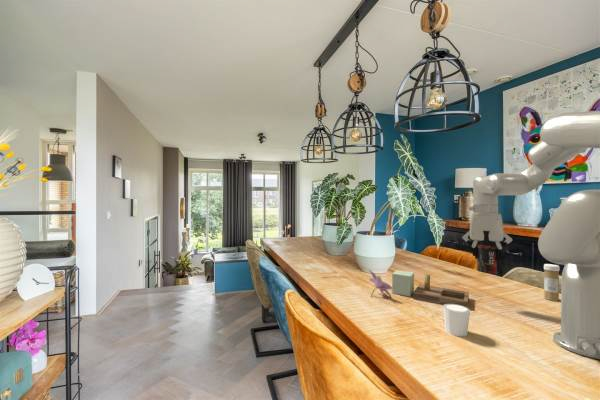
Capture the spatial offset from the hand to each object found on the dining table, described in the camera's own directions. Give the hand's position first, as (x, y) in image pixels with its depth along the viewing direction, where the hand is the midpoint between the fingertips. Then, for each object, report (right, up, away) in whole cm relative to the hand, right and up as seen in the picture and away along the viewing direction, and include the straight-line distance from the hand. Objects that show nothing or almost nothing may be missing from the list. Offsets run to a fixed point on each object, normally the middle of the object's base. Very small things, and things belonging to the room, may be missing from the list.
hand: (486, 258), depth 103 cm
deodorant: (0, -5, 0) cm, 5 cm away
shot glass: (-23, -17, -21) cm, 36 cm away
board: (-14, -17, +6) cm, 22 cm away
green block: (-26, -17, +13) cm, 33 cm away
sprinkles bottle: (+30, -17, +6) cm, 35 cm away
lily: (-37, -17, +9) cm, 41 cm away
